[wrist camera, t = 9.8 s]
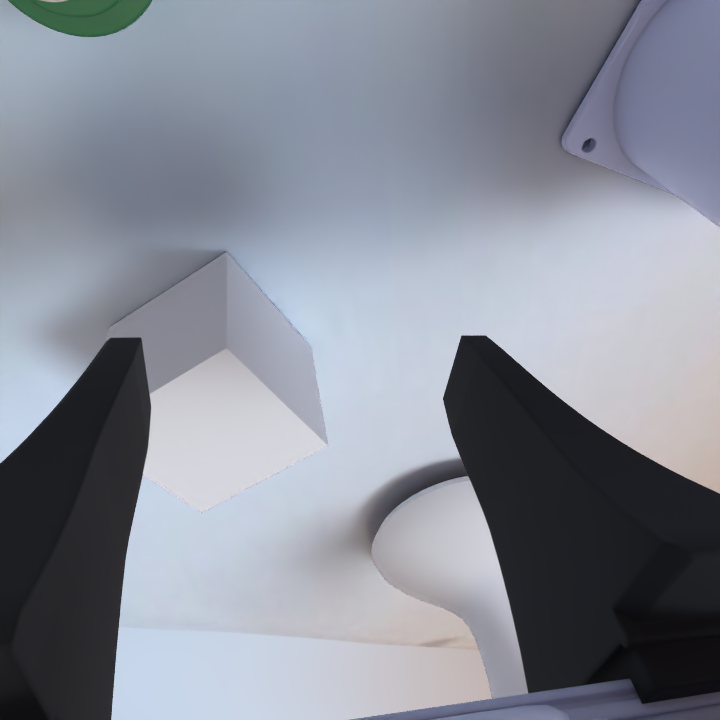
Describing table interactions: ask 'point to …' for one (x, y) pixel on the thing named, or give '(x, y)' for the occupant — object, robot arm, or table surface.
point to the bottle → (83, 15)
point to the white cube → (223, 386)
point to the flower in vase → (454, 572)
